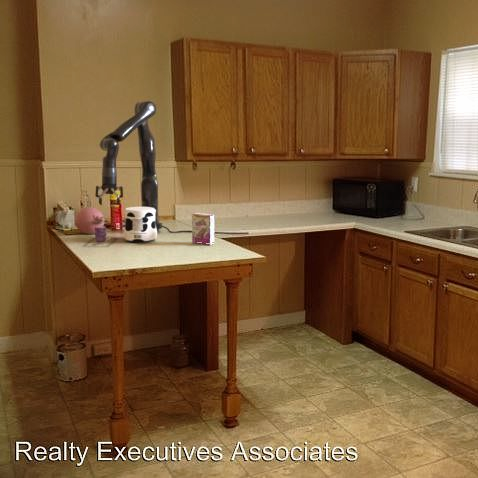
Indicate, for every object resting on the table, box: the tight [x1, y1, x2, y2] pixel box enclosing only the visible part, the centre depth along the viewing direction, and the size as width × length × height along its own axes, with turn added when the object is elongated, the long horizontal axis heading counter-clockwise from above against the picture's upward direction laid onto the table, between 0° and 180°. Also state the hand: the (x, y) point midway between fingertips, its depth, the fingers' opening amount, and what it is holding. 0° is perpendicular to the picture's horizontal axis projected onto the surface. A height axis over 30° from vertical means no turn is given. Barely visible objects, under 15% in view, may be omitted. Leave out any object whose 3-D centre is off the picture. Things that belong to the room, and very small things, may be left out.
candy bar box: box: [191, 212, 215, 246], centre depth 325 cm, size 11×5×16 cm, turn 71°
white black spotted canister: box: [123, 206, 158, 244], centre depth 326 cm, size 17×17×18 cm
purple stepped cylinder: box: [94, 230, 107, 237], centre depth 321 cm, size 6×6×3 cm
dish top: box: [95, 225, 107, 232], centre depth 321 cm, size 6×6×3 cm
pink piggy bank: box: [74, 206, 105, 235], centre depth 340 cm, size 15×20×15 cm
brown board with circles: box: [90, 237, 112, 247], centre depth 322 cm, size 12×22×1 cm, turn 5°
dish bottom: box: [94, 235, 107, 243], centre depth 322 cm, size 6×6×3 cm
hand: (109, 205), depth 331 cm, fingers open, 8 cm apart
